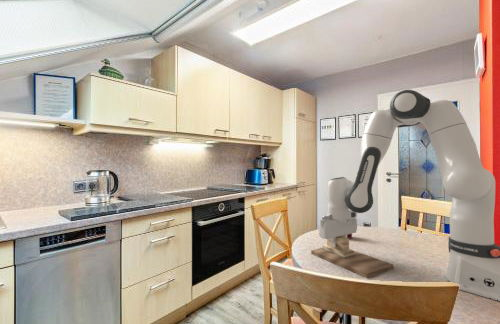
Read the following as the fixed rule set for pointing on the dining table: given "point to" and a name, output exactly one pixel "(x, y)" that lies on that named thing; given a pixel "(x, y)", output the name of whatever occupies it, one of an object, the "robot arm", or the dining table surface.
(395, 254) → the dining table surface
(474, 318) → the dining table surface
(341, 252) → the sanding block
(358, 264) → the board
